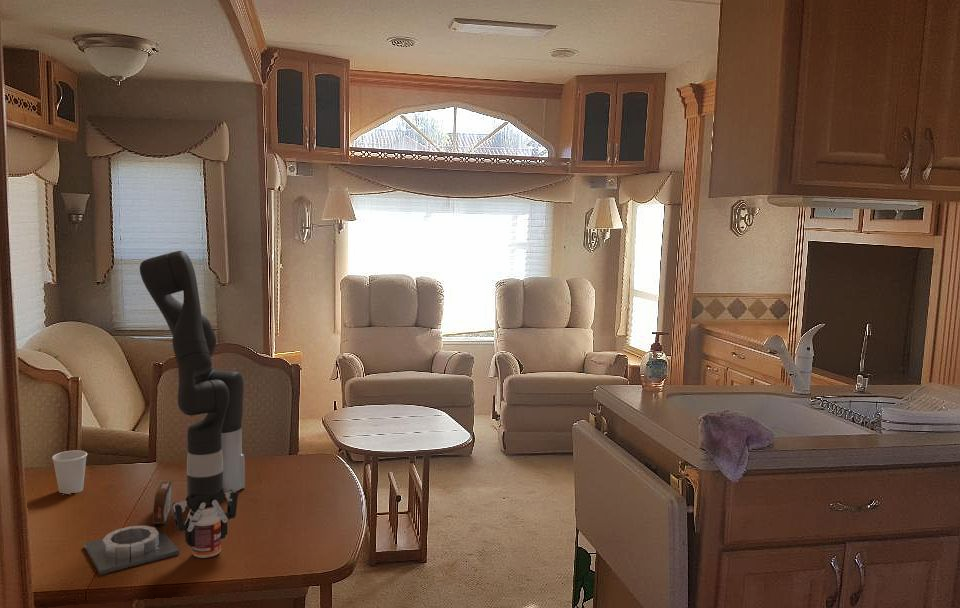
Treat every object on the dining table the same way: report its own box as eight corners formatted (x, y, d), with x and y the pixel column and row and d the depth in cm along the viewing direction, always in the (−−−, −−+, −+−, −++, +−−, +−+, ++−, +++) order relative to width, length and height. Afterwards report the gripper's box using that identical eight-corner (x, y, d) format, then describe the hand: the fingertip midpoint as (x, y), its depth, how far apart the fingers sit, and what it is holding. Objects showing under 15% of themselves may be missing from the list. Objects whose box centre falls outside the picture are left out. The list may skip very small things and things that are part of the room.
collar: (158, 529, 174) (158, 515, 174) (179, 554, 162) (178, 539, 161) (84, 547, 164) (83, 532, 164) (100, 575, 152) (99, 559, 151)
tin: (161, 506, 188) (160, 475, 187) (174, 505, 189) (173, 474, 188) (151, 530, 174) (151, 496, 173) (166, 529, 175) (165, 495, 174)
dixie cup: (90, 492, 196) (89, 456, 194) (54, 498, 191) (53, 462, 190) (86, 483, 202) (85, 448, 201) (52, 488, 198) (50, 453, 197)
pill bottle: (219, 557, 160) (218, 510, 159) (190, 560, 159) (189, 512, 158) (223, 545, 166) (222, 499, 165) (194, 547, 165) (193, 501, 164)
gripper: (231, 458, 168) (232, 527, 170) (166, 471, 159) (168, 543, 161) (243, 468, 162) (244, 539, 164) (176, 481, 153) (178, 556, 155)
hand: (206, 541), depth 162 cm, fingers closed on pill bottle, 6 cm apart
